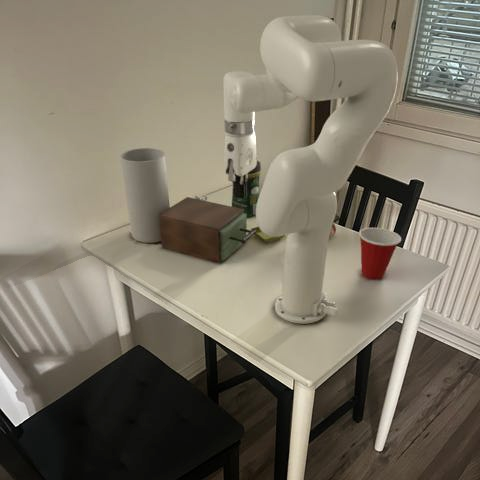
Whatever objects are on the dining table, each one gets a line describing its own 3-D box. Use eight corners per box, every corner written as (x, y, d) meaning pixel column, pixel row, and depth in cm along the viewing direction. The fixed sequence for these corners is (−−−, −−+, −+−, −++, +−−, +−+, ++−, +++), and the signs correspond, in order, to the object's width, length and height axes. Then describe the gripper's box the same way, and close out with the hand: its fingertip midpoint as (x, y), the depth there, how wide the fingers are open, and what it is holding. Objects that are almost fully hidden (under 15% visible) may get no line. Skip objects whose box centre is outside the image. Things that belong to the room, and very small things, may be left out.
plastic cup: (401, 275, 133) (410, 235, 126) (377, 289, 127) (385, 248, 120) (368, 260, 140) (375, 221, 132) (344, 273, 134) (350, 233, 127)
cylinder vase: (180, 234, 153) (173, 154, 139) (148, 248, 146) (138, 165, 131) (155, 222, 160) (146, 145, 146) (124, 235, 153) (111, 155, 138)
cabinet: (243, 242, 149) (243, 209, 142) (219, 263, 138) (218, 228, 132) (189, 229, 156) (187, 196, 150) (162, 248, 146) (158, 214, 140)
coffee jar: (227, 211, 167) (226, 157, 156) (244, 205, 172) (244, 151, 161) (247, 220, 162) (247, 164, 151) (263, 213, 166) (265, 158, 155)
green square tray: (264, 245, 147) (264, 239, 146) (249, 234, 153) (249, 228, 152) (288, 238, 151) (288, 232, 149) (272, 228, 157) (272, 222, 155)
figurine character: (306, 256, 144) (341, 236, 151) (306, 234, 140) (342, 214, 146) (291, 248, 149) (325, 229, 155) (290, 226, 144) (325, 207, 150)
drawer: (260, 244, 146) (261, 217, 140) (239, 264, 136) (239, 235, 131) (194, 228, 155) (192, 201, 149) (169, 246, 145) (167, 218, 140)
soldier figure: (195, 223, 162) (182, 200, 168) (204, 228, 166) (191, 206, 172) (212, 207, 160) (198, 184, 166) (220, 213, 164) (207, 190, 170)
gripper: (238, 135, 115) (239, 209, 126) (265, 121, 126) (264, 190, 137) (211, 132, 118) (214, 204, 129) (240, 118, 129) (240, 186, 139)
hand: (240, 196), depth 133 cm, fingers closed
